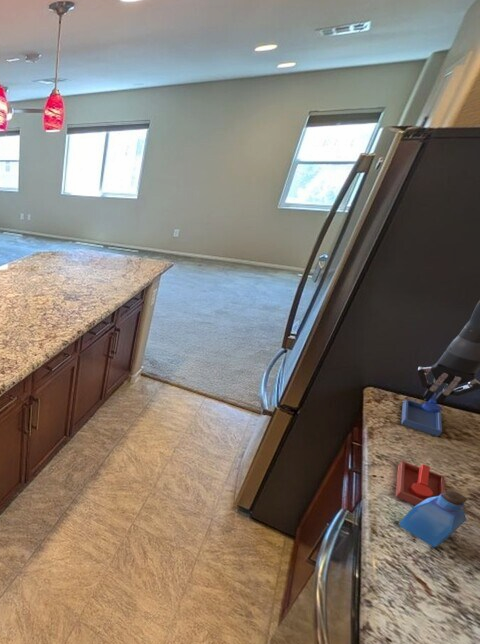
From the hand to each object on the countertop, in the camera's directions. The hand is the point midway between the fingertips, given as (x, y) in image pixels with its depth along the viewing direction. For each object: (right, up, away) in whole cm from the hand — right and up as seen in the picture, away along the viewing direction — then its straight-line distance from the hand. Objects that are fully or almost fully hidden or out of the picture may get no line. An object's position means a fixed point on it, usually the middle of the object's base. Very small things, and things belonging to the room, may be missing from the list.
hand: (430, 401), depth 117 cm
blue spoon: (-1, -1, -1) cm, 1 cm away
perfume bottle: (-38, -26, -30) cm, 55 cm away
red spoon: (-26, -18, -20) cm, 38 cm away
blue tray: (-1, -6, +2) cm, 6 cm away
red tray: (-27, -20, -20) cm, 39 cm away
